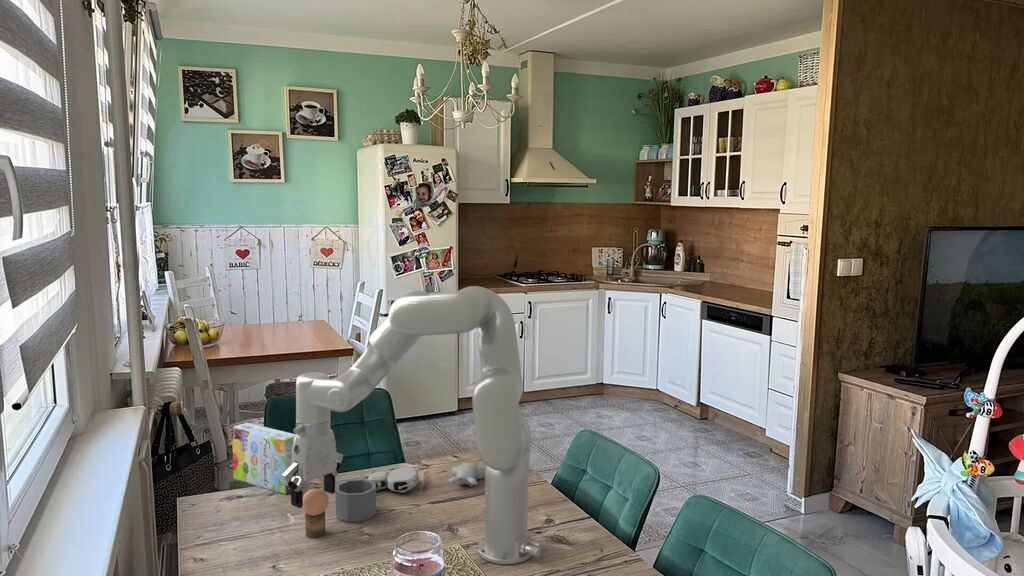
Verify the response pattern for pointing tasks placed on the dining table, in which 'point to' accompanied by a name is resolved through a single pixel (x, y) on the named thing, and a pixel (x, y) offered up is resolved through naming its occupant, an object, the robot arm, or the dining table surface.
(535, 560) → the dining table surface
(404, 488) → the robot toy
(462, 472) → the bunny figurine
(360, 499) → the grey octagonal pot
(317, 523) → the stand
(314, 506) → the ball
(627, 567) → the dining table surface
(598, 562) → the dining table surface
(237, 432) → the snack box
